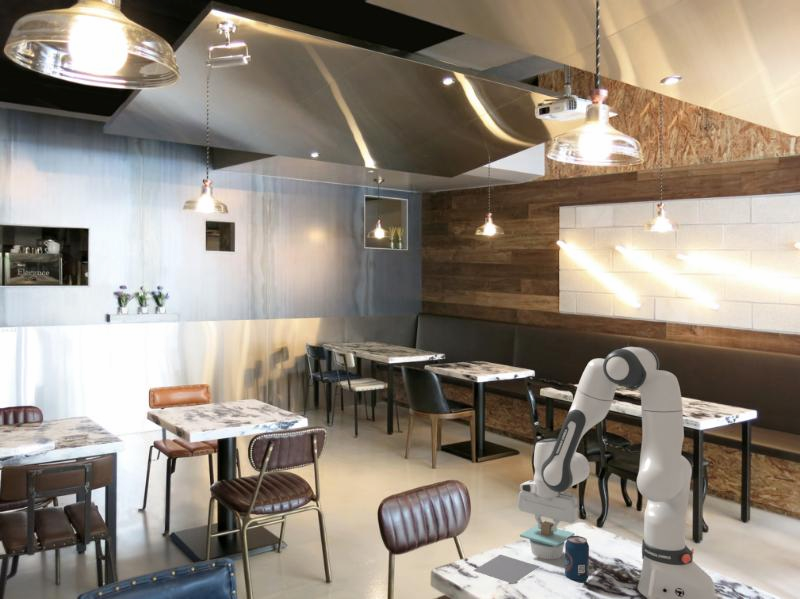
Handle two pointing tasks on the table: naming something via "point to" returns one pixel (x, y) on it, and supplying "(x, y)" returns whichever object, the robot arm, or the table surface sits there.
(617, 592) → the table surface
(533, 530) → the cover sheet
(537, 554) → the ramekin
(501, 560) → the mat
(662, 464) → the robot arm
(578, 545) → the soda can
